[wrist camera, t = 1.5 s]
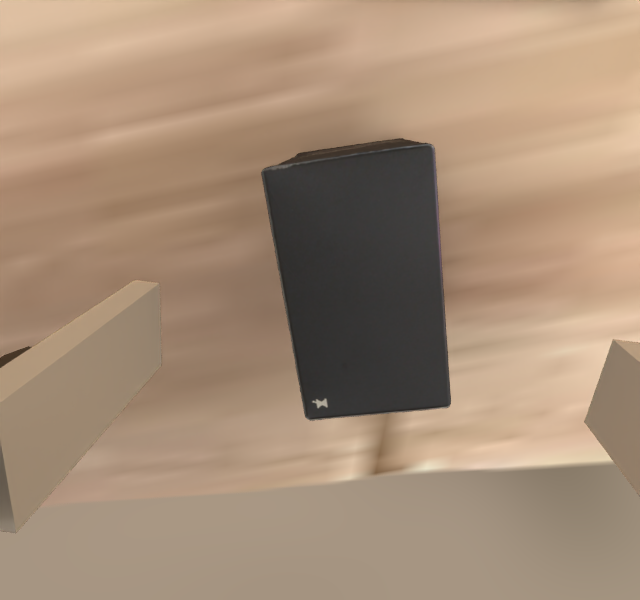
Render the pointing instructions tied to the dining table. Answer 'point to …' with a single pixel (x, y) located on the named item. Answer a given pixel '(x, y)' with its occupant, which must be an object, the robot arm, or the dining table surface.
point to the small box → (362, 277)
